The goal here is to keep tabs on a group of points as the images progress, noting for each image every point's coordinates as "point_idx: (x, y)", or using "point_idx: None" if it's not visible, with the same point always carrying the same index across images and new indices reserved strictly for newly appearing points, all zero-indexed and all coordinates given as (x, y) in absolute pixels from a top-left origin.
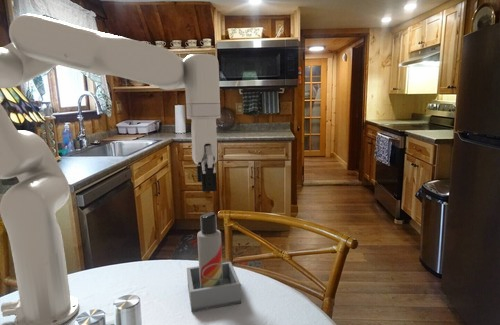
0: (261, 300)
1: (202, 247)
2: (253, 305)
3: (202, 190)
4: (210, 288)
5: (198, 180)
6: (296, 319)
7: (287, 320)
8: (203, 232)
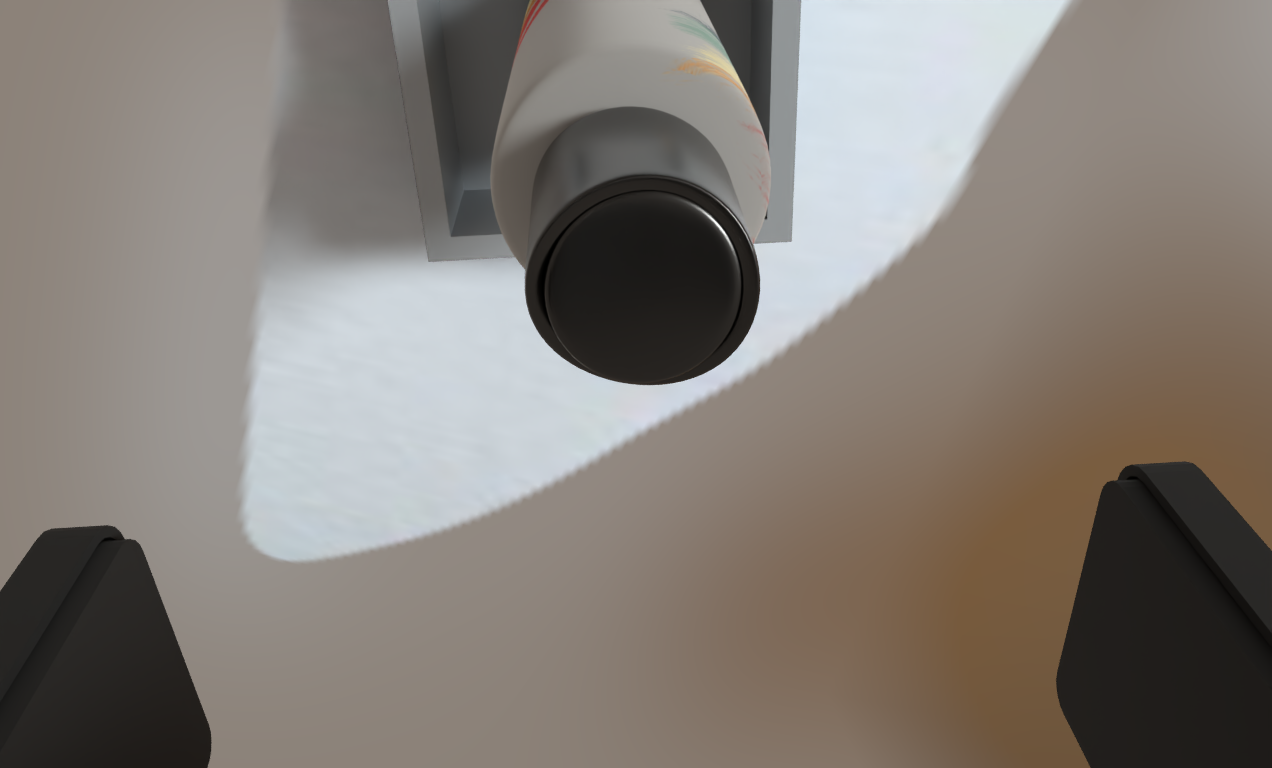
0: (458, 326)
1: (523, 65)
2: (413, 272)
3: (38, 539)
4: (393, 34)
5: (1124, 490)
6: (255, 452)
7: (250, 411)
8: (560, 135)
